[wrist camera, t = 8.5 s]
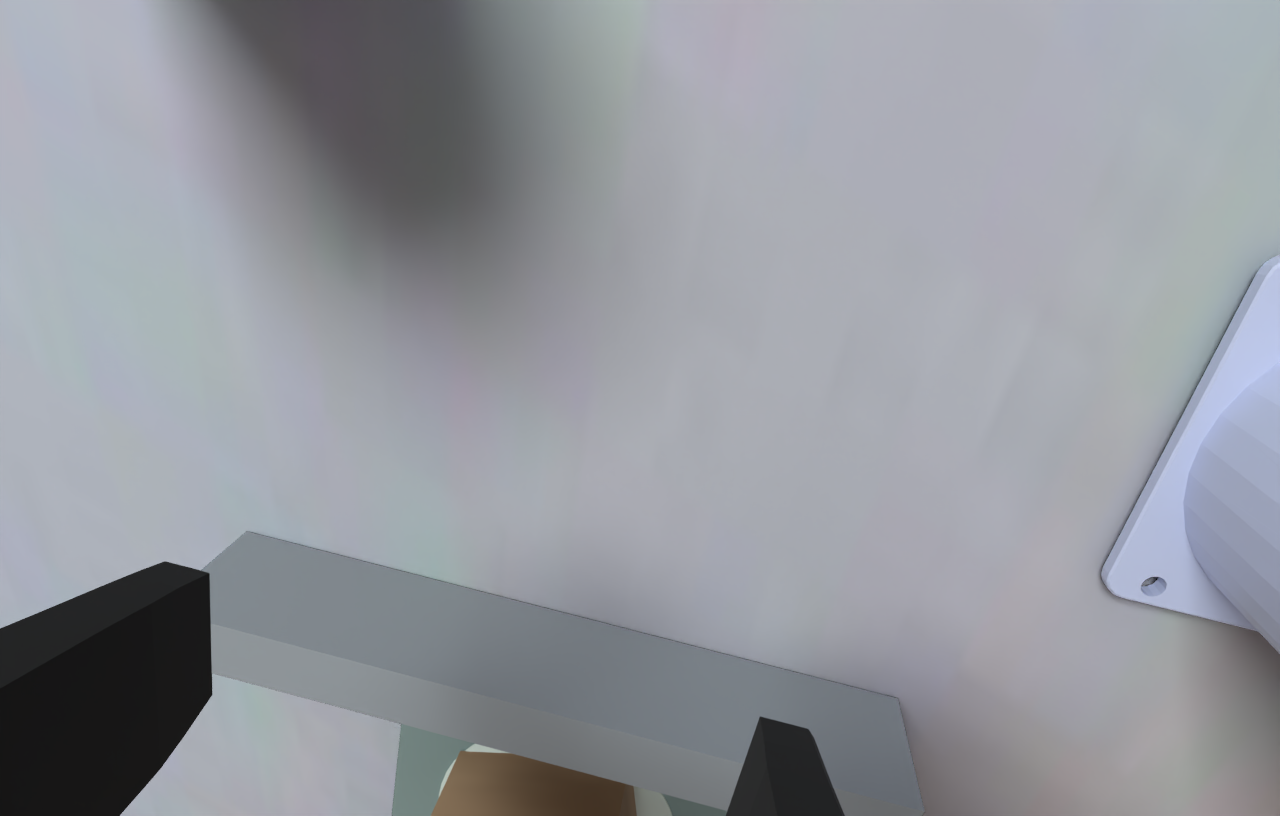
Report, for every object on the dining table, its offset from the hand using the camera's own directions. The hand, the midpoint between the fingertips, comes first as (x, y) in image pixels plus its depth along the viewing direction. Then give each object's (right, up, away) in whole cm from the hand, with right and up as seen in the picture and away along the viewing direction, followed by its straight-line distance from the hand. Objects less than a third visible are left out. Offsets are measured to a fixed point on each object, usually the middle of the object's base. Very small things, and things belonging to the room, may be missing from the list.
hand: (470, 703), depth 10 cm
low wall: (0, -2, +11) cm, 11 cm away
